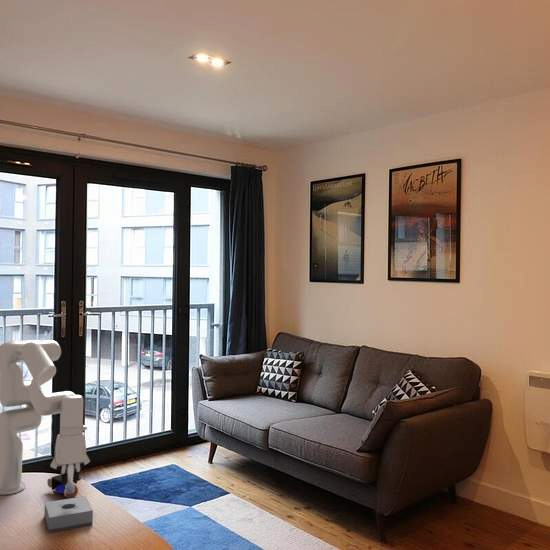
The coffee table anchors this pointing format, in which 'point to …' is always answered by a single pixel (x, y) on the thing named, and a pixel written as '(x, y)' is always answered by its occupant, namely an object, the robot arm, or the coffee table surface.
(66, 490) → the aluminium pin
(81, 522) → the bore block
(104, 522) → the coffee table surface
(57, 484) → the figurine character
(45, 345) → the robot arm
